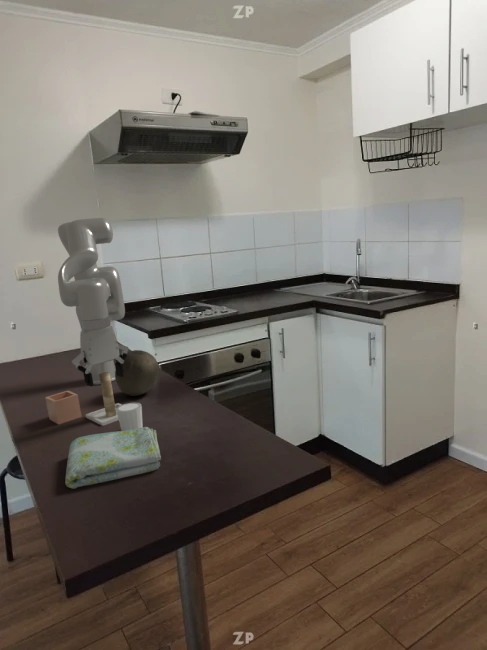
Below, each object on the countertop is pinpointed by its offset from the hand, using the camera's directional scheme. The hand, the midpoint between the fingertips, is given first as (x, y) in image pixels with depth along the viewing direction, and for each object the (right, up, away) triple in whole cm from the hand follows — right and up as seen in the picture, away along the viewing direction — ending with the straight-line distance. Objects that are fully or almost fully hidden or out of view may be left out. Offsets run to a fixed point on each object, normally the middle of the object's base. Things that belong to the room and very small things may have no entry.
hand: (105, 380), depth 142 cm
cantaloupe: (+6, -7, +21) cm, 23 cm away
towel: (+11, -17, -28) cm, 34 cm away
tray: (+1, -11, +2) cm, 11 cm away
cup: (-13, -12, +4) cm, 18 cm away
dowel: (+1, -11, +2) cm, 11 cm away
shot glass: (+10, -13, -10) cm, 19 cm away
